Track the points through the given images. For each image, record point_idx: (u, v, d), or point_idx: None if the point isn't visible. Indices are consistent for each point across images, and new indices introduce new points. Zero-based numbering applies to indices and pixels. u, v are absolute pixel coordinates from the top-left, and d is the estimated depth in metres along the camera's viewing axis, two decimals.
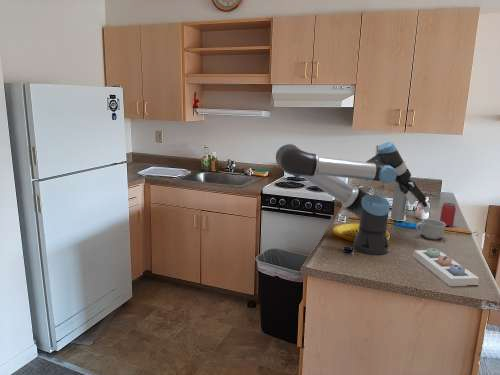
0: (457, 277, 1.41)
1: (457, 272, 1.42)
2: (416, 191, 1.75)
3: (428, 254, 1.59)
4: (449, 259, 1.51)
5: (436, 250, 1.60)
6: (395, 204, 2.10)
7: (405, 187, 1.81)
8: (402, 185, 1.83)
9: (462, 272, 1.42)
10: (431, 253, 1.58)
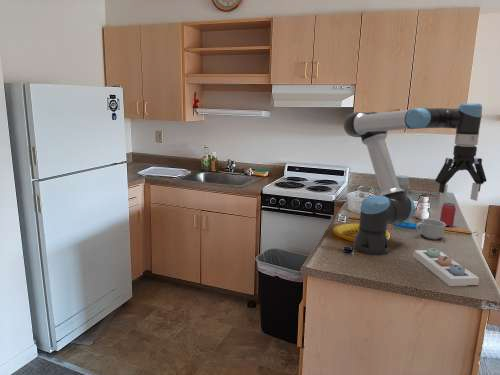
0: (457, 277, 1.41)
1: (457, 272, 1.42)
2: (443, 168, 1.45)
3: (428, 254, 1.59)
4: (449, 259, 1.51)
5: (436, 250, 1.60)
6: None
7: None
8: None
9: (462, 272, 1.42)
10: (431, 253, 1.58)
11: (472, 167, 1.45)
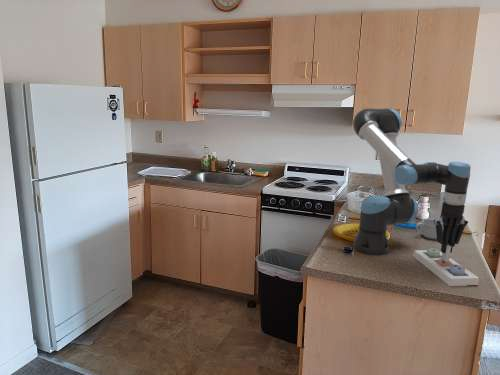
0: (457, 277, 1.41)
1: (457, 272, 1.42)
2: (437, 230, 1.49)
3: (428, 254, 1.59)
4: (449, 262, 1.52)
5: (436, 250, 1.60)
6: None
7: None
8: None
9: (462, 272, 1.42)
10: (431, 253, 1.58)
11: (456, 226, 1.47)
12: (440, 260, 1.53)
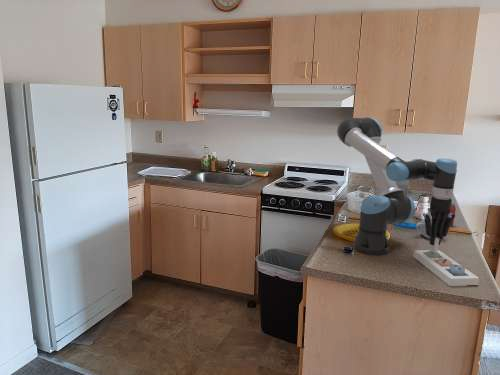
0: (457, 277, 1.41)
1: (457, 272, 1.42)
2: (426, 223, 1.57)
3: None
4: (449, 262, 1.52)
5: (436, 253, 1.60)
6: None
7: None
8: None
9: (462, 272, 1.42)
10: (431, 256, 1.59)
11: (444, 219, 1.55)
12: (440, 260, 1.53)
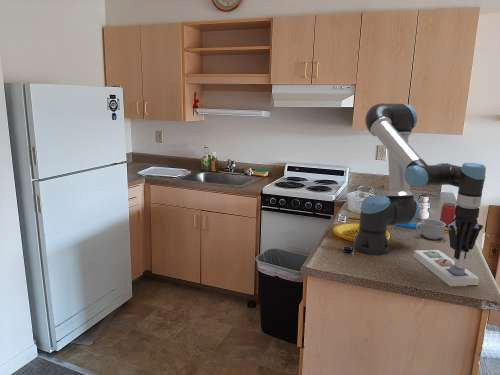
0: (457, 277, 1.41)
1: (457, 273, 1.43)
2: (450, 235, 1.41)
3: None
4: (449, 262, 1.52)
5: (436, 253, 1.60)
6: None
7: None
8: None
9: (462, 272, 1.42)
10: (431, 256, 1.59)
11: (470, 231, 1.39)
12: (440, 260, 1.53)
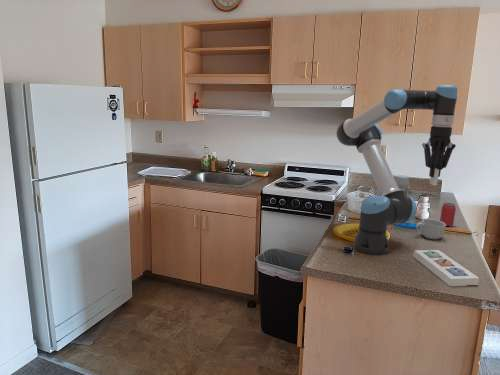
0: (457, 277, 1.41)
1: (457, 275, 1.43)
2: (425, 154, 1.53)
3: None
4: (449, 262, 1.52)
5: (436, 253, 1.60)
6: None
7: None
8: None
9: (461, 275, 1.43)
10: (431, 256, 1.59)
11: (444, 149, 1.51)
12: (440, 260, 1.53)
